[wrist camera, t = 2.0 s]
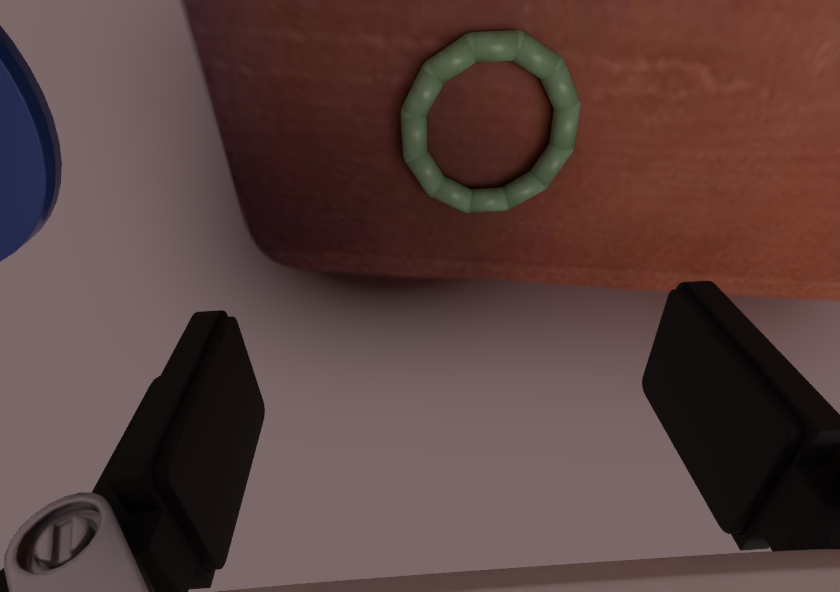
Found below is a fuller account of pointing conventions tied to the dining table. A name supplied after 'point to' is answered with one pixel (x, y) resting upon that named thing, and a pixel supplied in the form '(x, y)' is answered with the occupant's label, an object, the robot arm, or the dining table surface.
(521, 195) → the ring
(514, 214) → the dining table surface
